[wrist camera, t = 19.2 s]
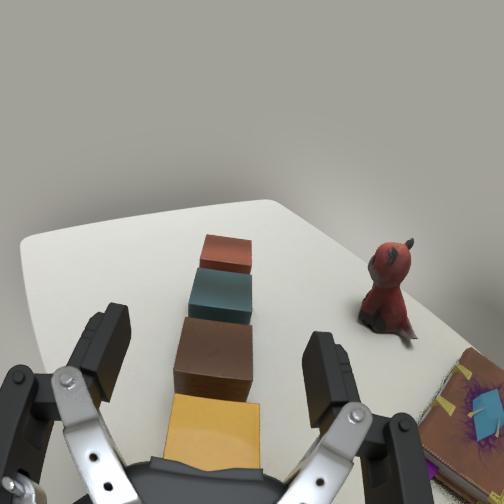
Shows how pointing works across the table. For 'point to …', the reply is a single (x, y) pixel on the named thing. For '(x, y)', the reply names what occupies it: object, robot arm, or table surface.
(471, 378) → the book
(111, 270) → the table surface
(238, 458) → the block
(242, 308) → the three coloured blocks
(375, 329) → the stuffed fox
